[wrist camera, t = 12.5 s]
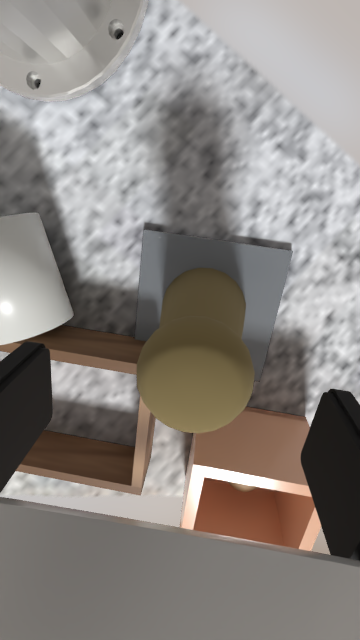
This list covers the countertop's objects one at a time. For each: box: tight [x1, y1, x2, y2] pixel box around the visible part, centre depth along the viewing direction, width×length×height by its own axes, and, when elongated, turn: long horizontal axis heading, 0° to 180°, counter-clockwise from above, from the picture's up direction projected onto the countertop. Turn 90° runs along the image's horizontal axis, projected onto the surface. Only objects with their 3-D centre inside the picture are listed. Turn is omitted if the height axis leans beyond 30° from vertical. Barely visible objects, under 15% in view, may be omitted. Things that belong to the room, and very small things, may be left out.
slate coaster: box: [135, 229, 293, 382], centre depth 23 cm, size 10×10×1 cm
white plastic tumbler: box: [0, 213, 74, 345], centre depth 21 cm, size 7×6×6 cm
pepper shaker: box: [137, 268, 255, 433], centre depth 18 cm, size 6×6×11 cm
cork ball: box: [227, 481, 257, 492], centre depth 25 cm, size 3×3×3 cm
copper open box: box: [180, 407, 321, 551], centre depth 24 cm, size 9×9×7 cm
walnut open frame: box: [0, 325, 155, 495], centre depth 25 cm, size 12×15×4 cm
